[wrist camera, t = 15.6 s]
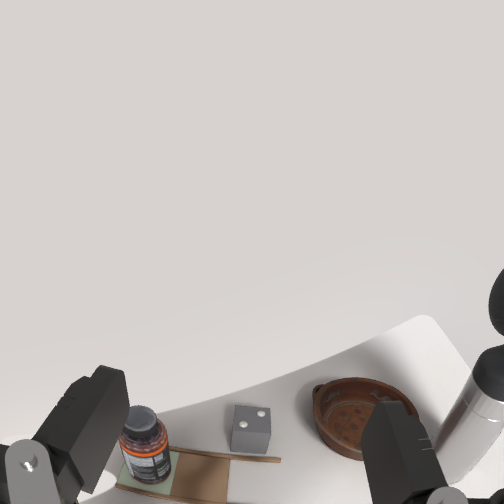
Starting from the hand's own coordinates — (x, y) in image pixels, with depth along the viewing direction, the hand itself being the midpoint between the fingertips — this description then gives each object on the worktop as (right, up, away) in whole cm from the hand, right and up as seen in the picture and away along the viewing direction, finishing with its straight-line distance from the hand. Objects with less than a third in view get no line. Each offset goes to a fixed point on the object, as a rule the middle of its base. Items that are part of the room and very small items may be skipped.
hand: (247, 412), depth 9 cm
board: (-6, -24, +24) cm, 35 cm away
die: (0, -23, +32) cm, 39 cm away
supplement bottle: (-13, -24, +24) cm, 36 cm away
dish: (+18, -24, +35) cm, 46 cm away
